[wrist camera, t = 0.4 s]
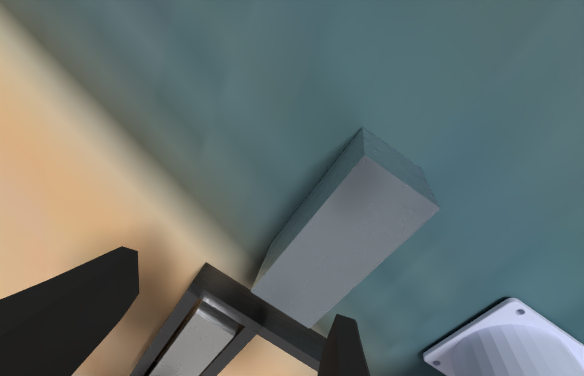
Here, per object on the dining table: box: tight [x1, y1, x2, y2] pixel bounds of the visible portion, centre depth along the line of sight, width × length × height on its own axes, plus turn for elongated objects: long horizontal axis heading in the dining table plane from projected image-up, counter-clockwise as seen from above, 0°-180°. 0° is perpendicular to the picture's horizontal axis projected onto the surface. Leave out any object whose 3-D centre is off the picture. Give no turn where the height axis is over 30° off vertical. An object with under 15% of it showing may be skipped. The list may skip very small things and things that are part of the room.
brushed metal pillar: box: [250, 127, 441, 328], centre depth 17 cm, size 4×10×5 cm, turn 147°
